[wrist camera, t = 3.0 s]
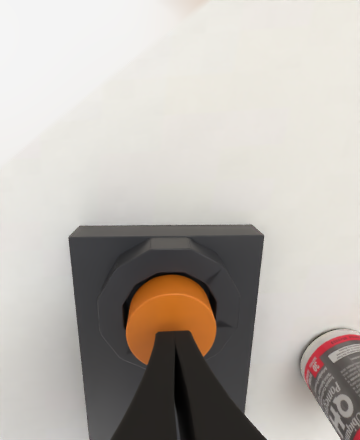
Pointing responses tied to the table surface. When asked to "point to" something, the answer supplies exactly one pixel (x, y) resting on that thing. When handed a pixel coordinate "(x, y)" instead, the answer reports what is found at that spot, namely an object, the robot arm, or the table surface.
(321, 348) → the pill bottle
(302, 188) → the table surface
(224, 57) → the table surface
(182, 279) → the button
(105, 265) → the base
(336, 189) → the table surface
